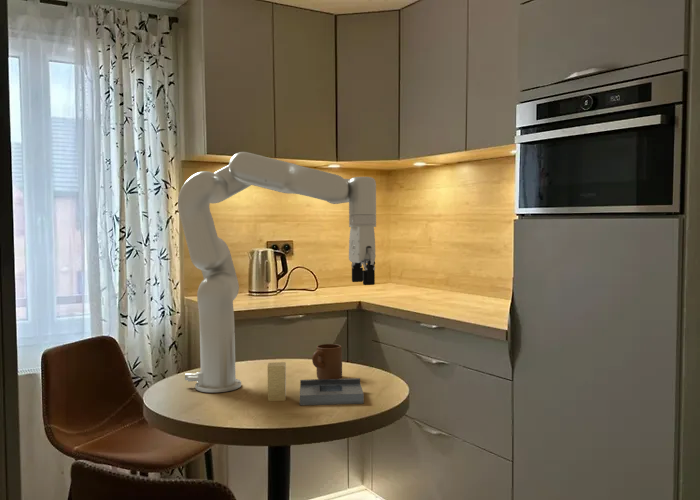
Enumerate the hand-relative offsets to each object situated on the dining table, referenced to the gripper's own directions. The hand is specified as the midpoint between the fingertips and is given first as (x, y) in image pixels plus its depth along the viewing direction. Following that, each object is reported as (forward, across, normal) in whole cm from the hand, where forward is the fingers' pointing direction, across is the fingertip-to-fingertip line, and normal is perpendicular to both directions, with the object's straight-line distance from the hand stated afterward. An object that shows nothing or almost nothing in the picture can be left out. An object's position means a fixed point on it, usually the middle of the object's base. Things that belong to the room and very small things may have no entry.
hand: (362, 283), depth 174 cm
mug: (+29, -10, -8) cm, 32 cm away
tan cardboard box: (+29, +5, -26) cm, 39 cm away
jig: (+29, +9, -12) cm, 32 cm away
